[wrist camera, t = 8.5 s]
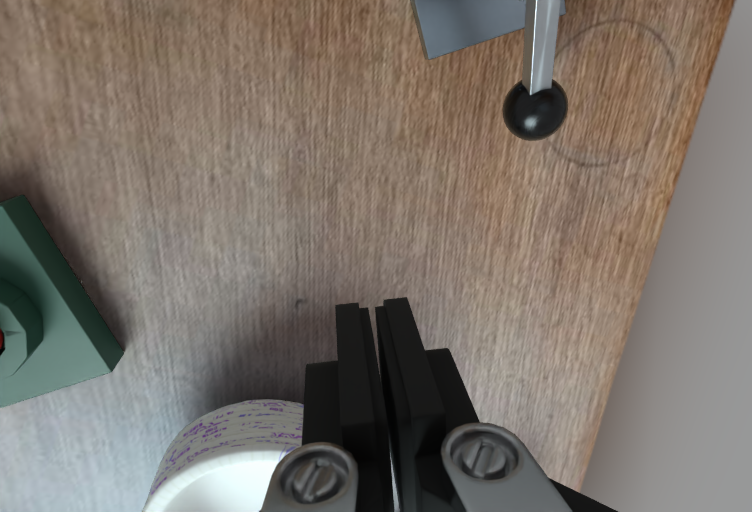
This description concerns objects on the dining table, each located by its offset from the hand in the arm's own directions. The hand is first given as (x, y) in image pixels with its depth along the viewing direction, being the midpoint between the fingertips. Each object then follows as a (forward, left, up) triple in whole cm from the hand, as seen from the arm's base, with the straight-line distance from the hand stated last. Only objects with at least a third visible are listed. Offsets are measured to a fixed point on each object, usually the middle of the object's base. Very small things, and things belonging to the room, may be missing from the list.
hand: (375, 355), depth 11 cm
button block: (+2, -23, -20) cm, 31 cm away
